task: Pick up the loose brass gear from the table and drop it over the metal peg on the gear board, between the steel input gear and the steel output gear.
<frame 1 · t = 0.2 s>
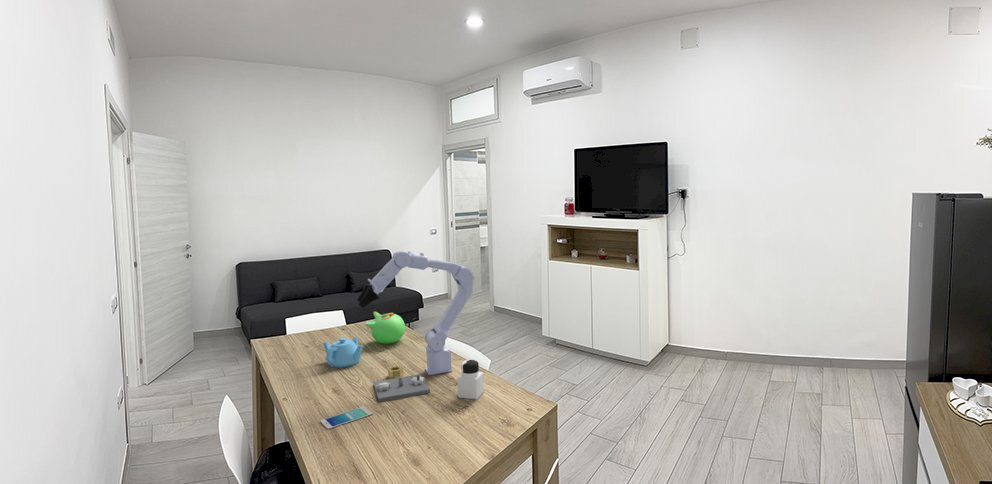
hand: (360, 304, 183), 31 cm above the table, tool tilted 45°, fingers open, 7 cm apart
medicine bottle: (471, 395, 171), on the table
teapot: (344, 363, 209), on the table
smartphone: (347, 419, 157), on the table
gear board: (401, 388, 179), on the table
brass gear: (395, 376, 191), on the table
toy bird: (387, 342, 235), on the table
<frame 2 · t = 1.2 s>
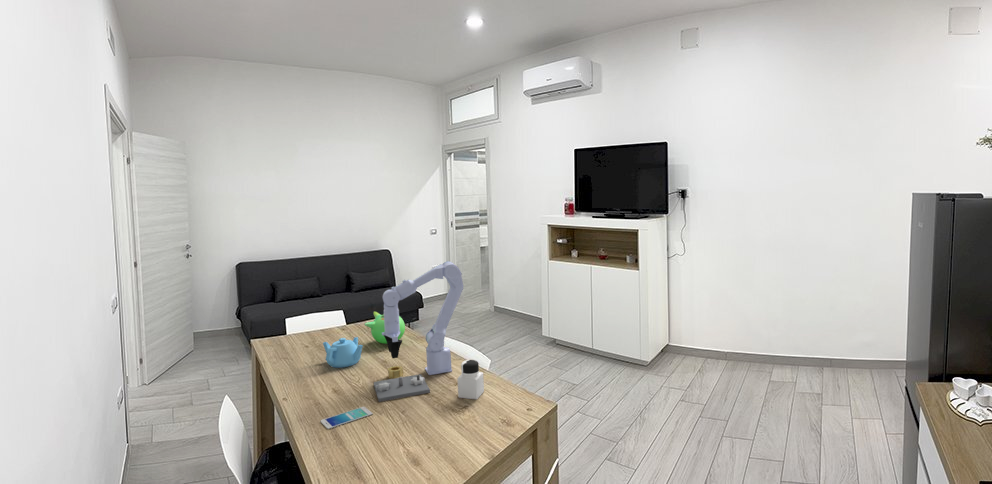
hand: (393, 354, 190), 9 cm above the table, tool pointing down, fingers open, 7 cm apart
nothing on the table moved.
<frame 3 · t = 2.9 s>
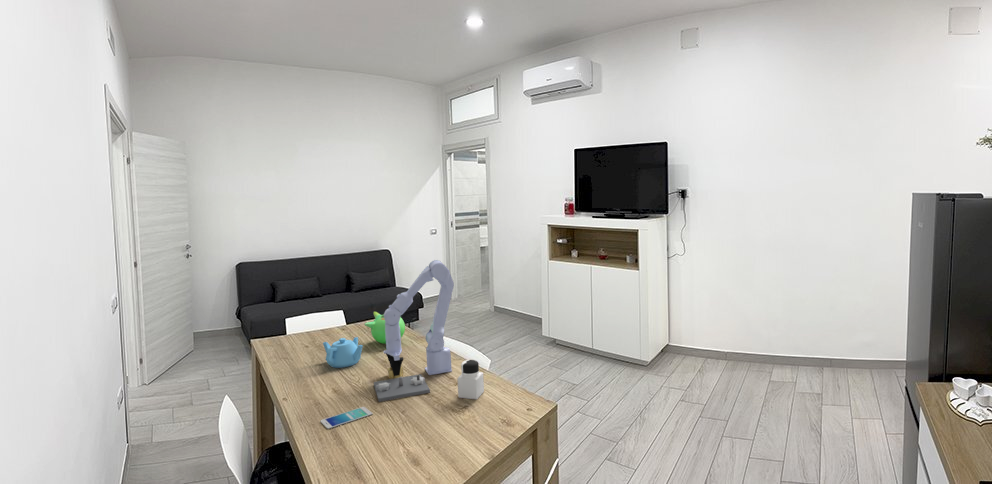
hand: (395, 372, 191), 1 cm above the table, tool pointing down, fingers closed on brass gear, 6 cm apart
brass gear: (395, 376, 191), on the table, touching gripper
everything else where it was.
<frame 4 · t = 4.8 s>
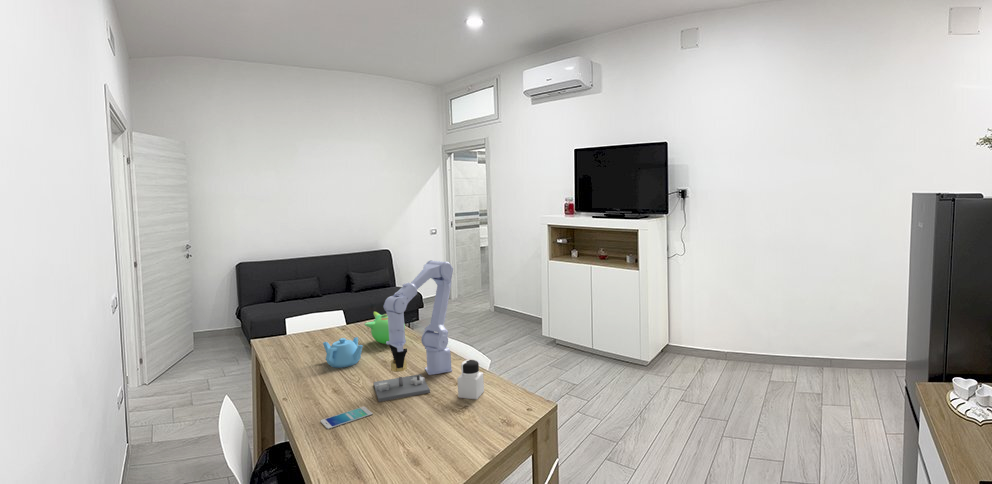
hand: (398, 365, 179), 8 cm above the table, tool pointing down, fingers closed on brass gear, 6 cm apart
brass gear: (398, 368, 180), point 7 cm above the table, touching gripper
everything else where it was.
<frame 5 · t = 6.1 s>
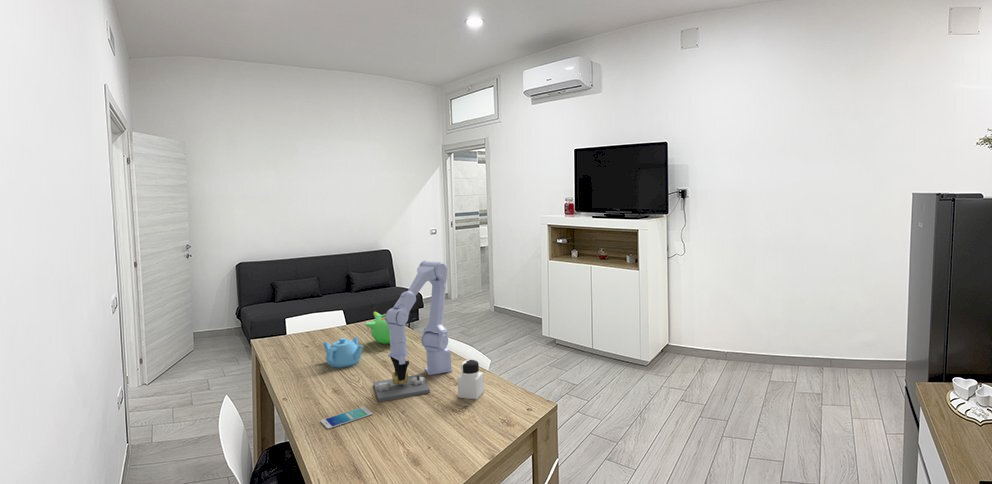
hand: (400, 377, 178), 4 cm above the table, tool pointing down, fingers closed on brass gear, 6 cm apart
brass gear: (400, 381, 178), point 3 cm above the table, touching gripper
everything else where it was.
when the fingers open (4 cm above the table, at t = 6.9 s): brass gear drops 2 cm, resting on gear board.
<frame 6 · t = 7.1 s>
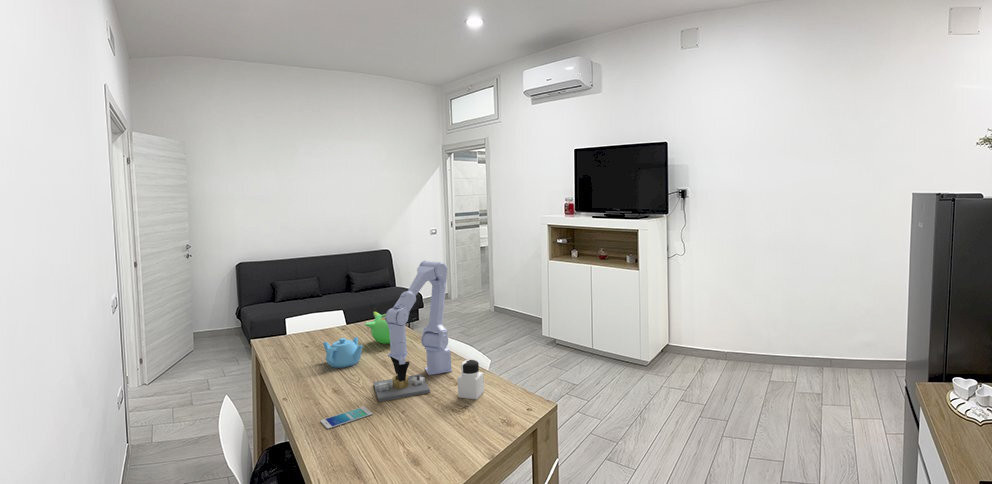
hand: (400, 377, 178), 4 cm above the table, tool pointing down, fingers open, 7 cm apart
brass gear: (400, 385, 179), point 1 cm above the table, touching gear board
everything else where it was.
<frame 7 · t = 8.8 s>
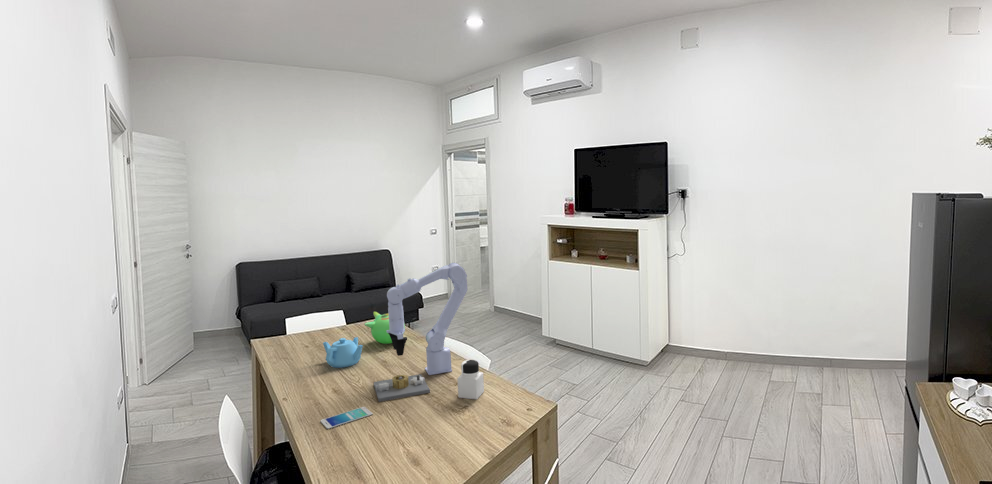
hand: (398, 352, 191), 9 cm above the table, tool pointing down, fingers open, 7 cm apart
nothing on the table moved.
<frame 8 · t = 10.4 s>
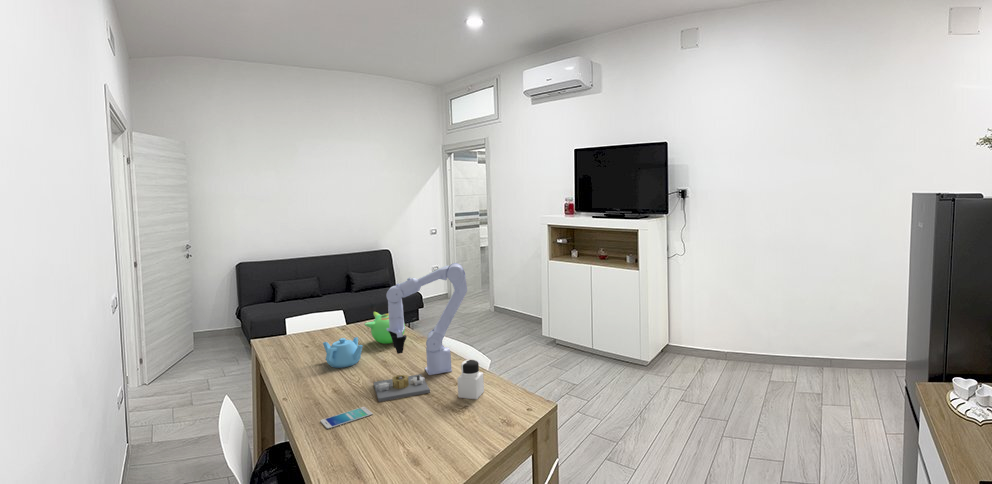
hand: (398, 350, 193), 9 cm above the table, tool pointing down, fingers open, 7 cm apart
nothing on the table moved.
at the end: brass gear 0.1 cm off-centre on the gear board, point 1.2 cm above the gear board's base; brass gear tilted 0°; the gripper is holding nothing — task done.
